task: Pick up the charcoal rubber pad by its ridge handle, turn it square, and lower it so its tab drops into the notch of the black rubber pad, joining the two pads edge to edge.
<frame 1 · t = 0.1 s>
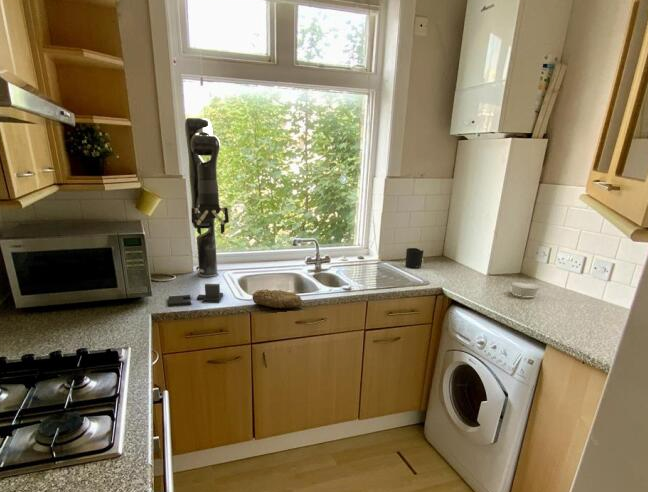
hand: (211, 234, 167), 29 cm above the countertop, tool pointing down, fingers open, 8 cm apart
brown rounded lump: (277, 306, 175), on the countertop
pen holder: (413, 267, 241), on the countertop
ramekin: (522, 296, 194), on the countertop
base pad: (178, 301, 178), on the countertop
joining pad: (213, 298, 183), on the countertop
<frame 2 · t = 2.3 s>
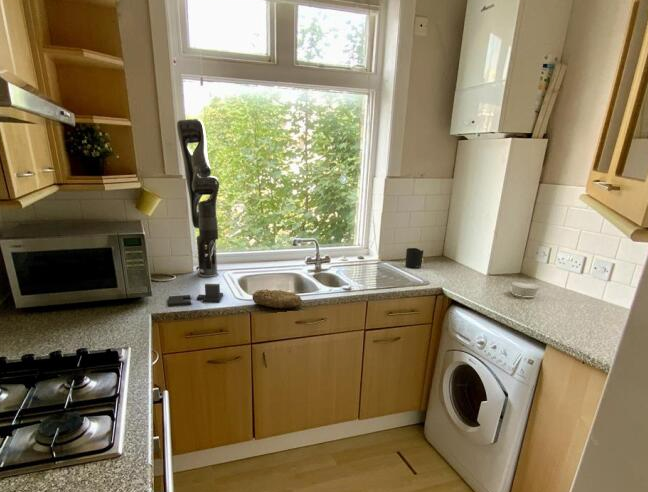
hand: (210, 266, 177), 15 cm above the countertop, tool pointing down, fingers open, 8 cm apart
nothing on the countertop moved.
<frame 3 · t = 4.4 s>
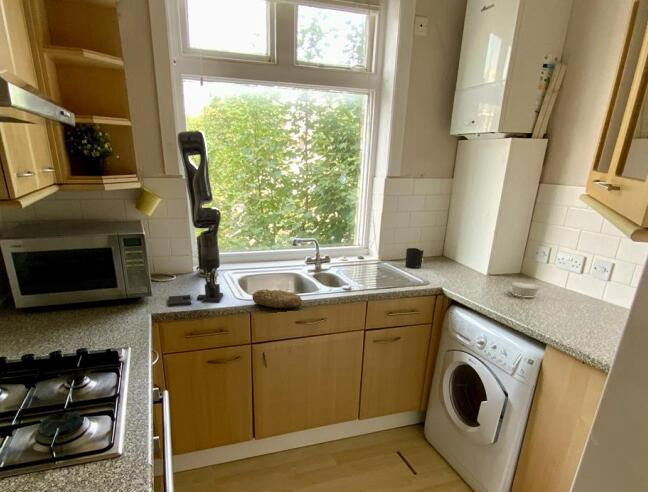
hand: (212, 295, 182), 2 cm above the countertop, tool pointing down, fingers closed on joining pad
joining pad: (213, 298, 183), on the countertop, touching gripper
everything else where it was.
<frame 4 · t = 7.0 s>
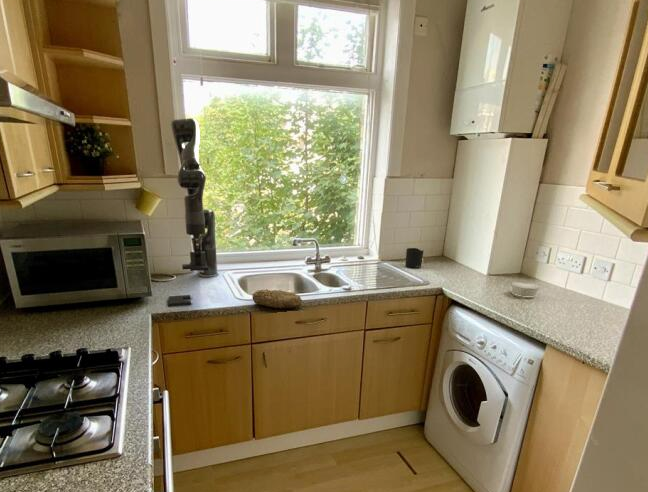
hand: (198, 263, 175), 16 cm above the countertop, tool pointing down, fingers closed on joining pad
joining pad: (198, 267, 175), point 15 cm above the countertop, touching gripper
everything else where it was.
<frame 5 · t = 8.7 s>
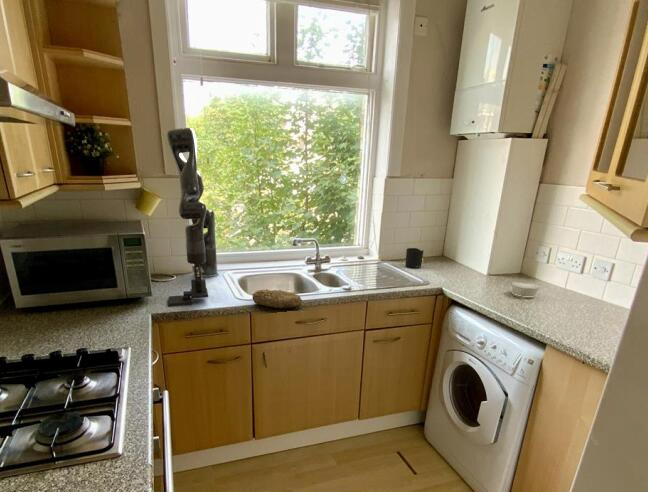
hand: (199, 290, 179), 4 cm above the countertop, tool pointing down, fingers closed on joining pad
joining pad: (199, 294, 180), point 3 cm above the countertop, touching gripper
everything else where it was.
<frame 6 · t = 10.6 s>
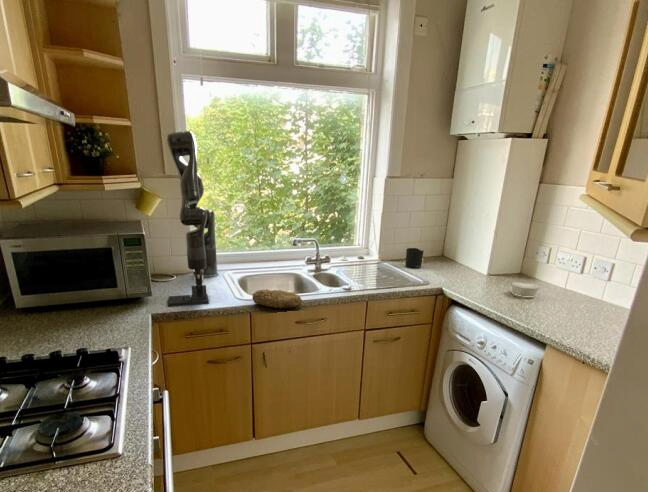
hand: (199, 294, 180), 3 cm above the countertop, tool pointing down, fingers open, 8 cm apart
joining pad: (199, 300, 181), on the countertop
everything else where it was.
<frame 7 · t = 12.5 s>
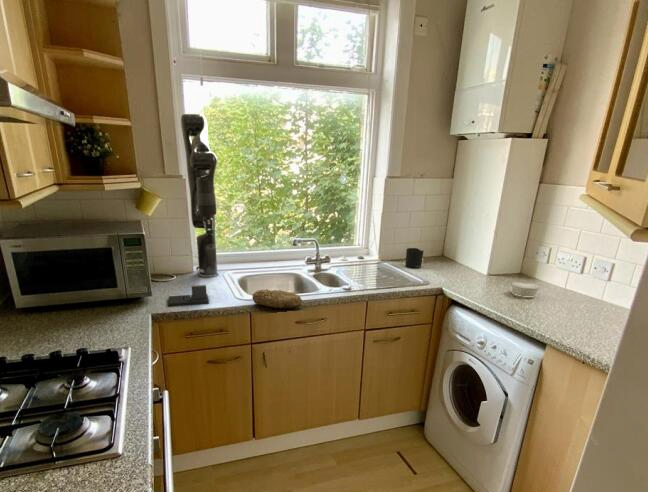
hand: (209, 241, 182), 24 cm above the countertop, tool pointing down, fingers open, 8 cm apart
nothing on the countertop moved.
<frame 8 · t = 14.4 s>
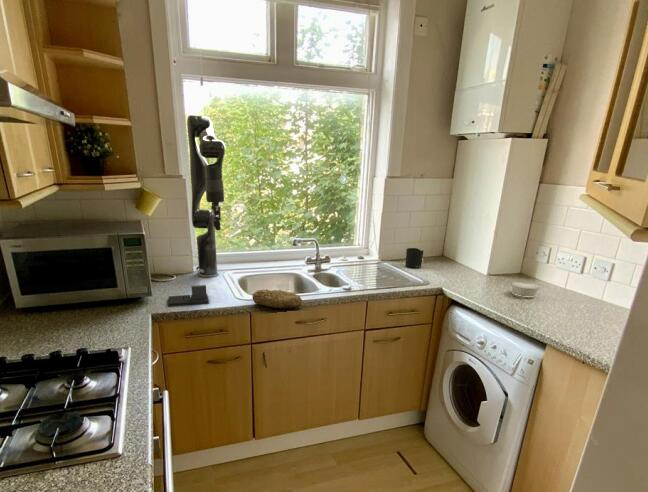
hand: (217, 228, 186), 28 cm above the countertop, tool pointing down, fingers open, 8 cm apart
nothing on the countertop moved.
at the end: joining pad 0.2 cm from the target spot on the countertop beside the base pad, on the countertop; joining pad tilted 0°; the gripper is holding nothing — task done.
